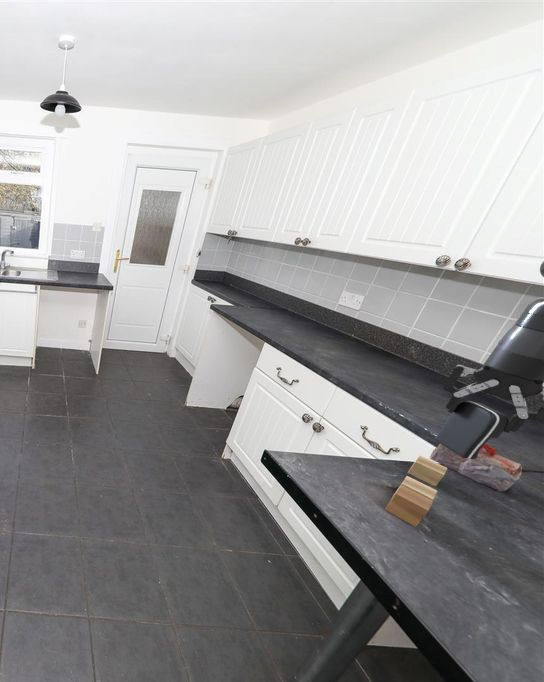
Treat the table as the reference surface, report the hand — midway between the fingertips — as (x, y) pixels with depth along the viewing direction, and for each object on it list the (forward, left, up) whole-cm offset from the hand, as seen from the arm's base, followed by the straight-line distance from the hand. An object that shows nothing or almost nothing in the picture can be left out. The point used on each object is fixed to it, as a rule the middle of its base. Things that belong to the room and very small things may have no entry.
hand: (476, 420), depth 71 cm
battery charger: (0, 0, -8) cm, 8 cm away
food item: (-17, -18, -23) cm, 34 cm away
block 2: (+4, +4, -23) cm, 23 cm away
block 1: (-4, -9, -23) cm, 25 cm away
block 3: (+7, +9, -23) cm, 25 cm away
